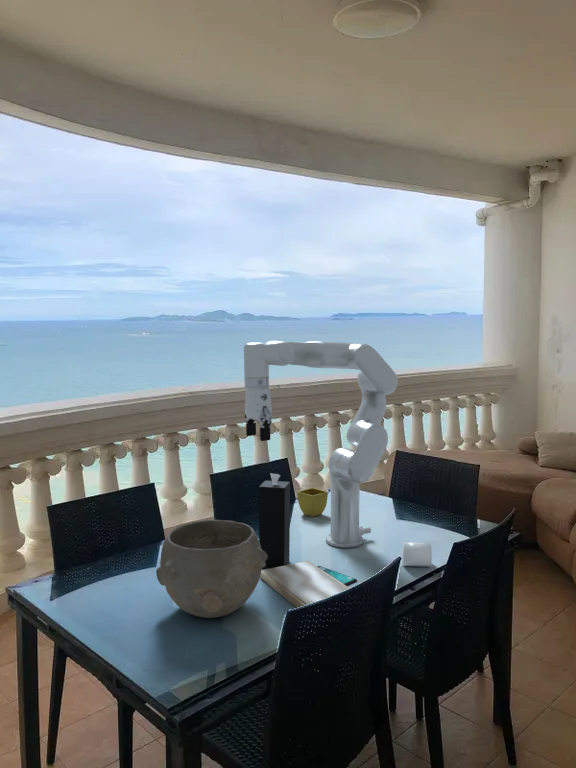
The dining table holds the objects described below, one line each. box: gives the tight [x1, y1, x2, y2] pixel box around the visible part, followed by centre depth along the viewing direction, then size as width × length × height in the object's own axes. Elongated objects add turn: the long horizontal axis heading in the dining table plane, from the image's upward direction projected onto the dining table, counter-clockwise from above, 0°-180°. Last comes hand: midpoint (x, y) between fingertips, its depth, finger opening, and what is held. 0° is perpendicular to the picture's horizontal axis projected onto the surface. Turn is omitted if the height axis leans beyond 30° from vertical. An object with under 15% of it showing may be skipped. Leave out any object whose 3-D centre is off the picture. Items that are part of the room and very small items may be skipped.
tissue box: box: [258, 472, 291, 569], centre depth 185 cm, size 8×8×28 cm
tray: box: [260, 560, 350, 608], centre depth 168 cm, size 16×28×2 cm, turn 29°
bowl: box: [155, 519, 268, 619], centre depth 156 cm, size 27×29×20 cm
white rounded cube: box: [401, 541, 433, 568], centre depth 186 cm, size 7×7×8 cm
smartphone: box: [317, 565, 358, 587], centre depth 177 cm, size 7×1×15 cm
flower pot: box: [296, 487, 329, 518], centre depth 236 cm, size 9×9×9 cm
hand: (258, 437), depth 190 cm, fingers open, 9 cm apart
